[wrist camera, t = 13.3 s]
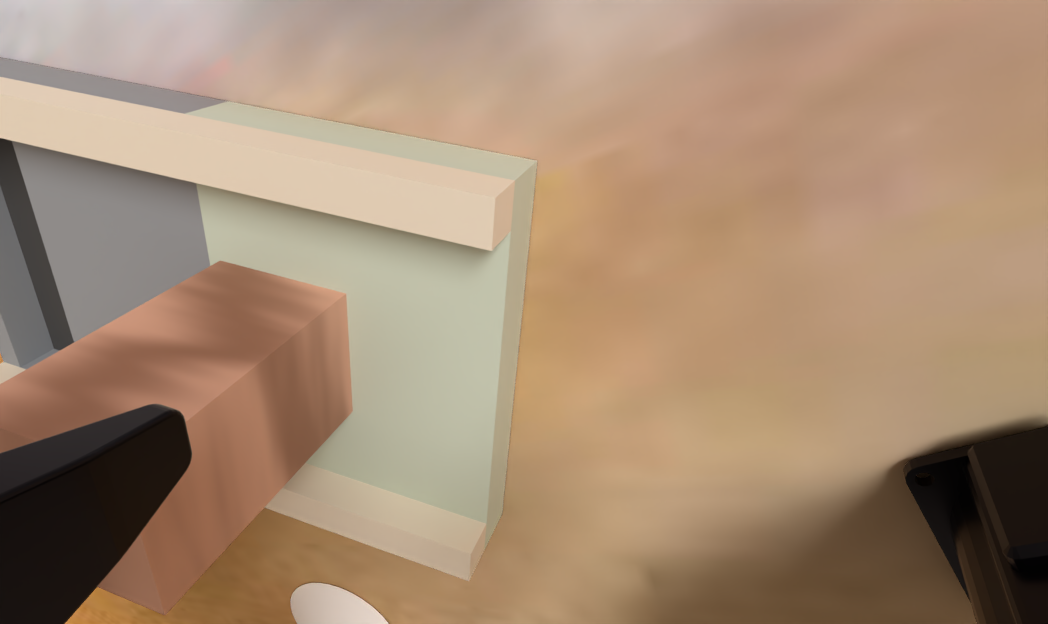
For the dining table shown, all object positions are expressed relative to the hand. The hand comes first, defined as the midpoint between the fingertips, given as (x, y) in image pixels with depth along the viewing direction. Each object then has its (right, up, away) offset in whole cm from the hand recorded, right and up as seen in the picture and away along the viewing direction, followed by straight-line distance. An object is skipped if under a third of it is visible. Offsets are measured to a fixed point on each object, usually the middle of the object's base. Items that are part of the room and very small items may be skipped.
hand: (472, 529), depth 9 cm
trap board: (-11, +4, +18) cm, 21 cm away
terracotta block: (-8, +2, +15) cm, 17 cm away
